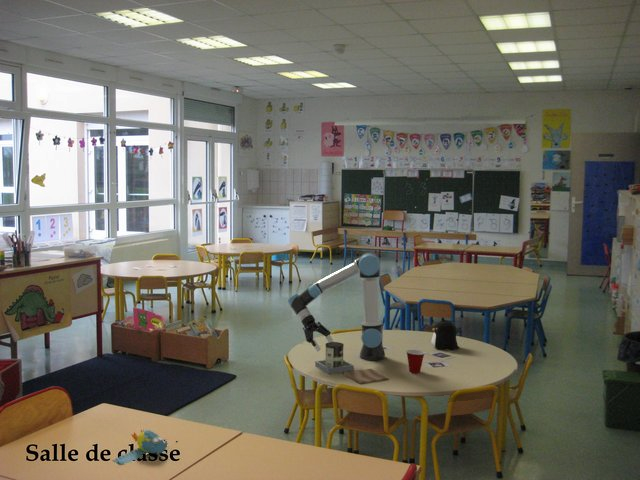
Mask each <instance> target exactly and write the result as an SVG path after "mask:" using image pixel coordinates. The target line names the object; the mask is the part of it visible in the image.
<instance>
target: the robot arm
mask: <svg viewBox="0 0 640 480" xmlns="http://www.w3.org/2000/svg"><path fill="white" fill-rule="evenodd" d="M380 264H381V260H380V257H379V255H378V254H377V253H375V252H373V251H367V252H364V253H363V254H362V255H360V256H359V257H358V258H356V259H354V262H352V263H350V264H348V265H346V266H344V267H342V268H340V269H339V270H336V271H334V272H333V273H331V274H328V275H327V276H325V277H323V278H322V279H320V280H318V281H316V282H314V283H311V284H309V285H308V287H306V289H305V290H304V291H303V292H301V293H300V294H298V293H294V294H293V295H291V296H290V297H289V298H288V299H287V302H288V304H289V306H290V308H291V309H292V310H293V312H294V313H295V315H296V316H297V318H298V319H299V321H300V322H301V324H302V325H303V327H302V330H303V332H304V336H305V340H306V342H307V343H309V344H311V345H312V347H314V349H315V351H316V352H319V351H320V350H322V348H321V347H320V345H319V344H318V342H317V341H316V339H314V333H315V332H318V333H319V334H321V335H322V336H323V337H325V339H326V340H327V343H329V342H335V341H334V340H333V338H332V336H331V331H330V330H329V329H327V327H326V326H325V325H323V323H321V322H320V321H318V322H316V319H315V317H314V315H313V314H312V312H311V310H310V309H309V308H308V306H309V304H311V303H312V302H313V301H314V300H316V299H317V298H318V297H319V296H321V294H323V293H324V292H327V291H329V290H331V289H333V288H335V287H336V286H339V285H341V284H342V283H344V282H346V281H348V280H351V279H352V278H353V277H355V276H358V275H359V278H360V279H361V280H362V296H363V297H362V298H363V299H362V301H363V321H362V322H361V341H362V347H361V349H360V352H359V358H361V359H362V360H367V361H381V360H385V358H386V353H385V349H384V346H383V339H384V338H383V337H384V336H383V335H384V334H383V333H384V332H383V331H384V322H383V320H381V319H380V318H379V317H380V316H379V315H380V314H379V313H380V312H379V289H378V286H379V285H378V284H379V283H378V281H379V278H380V277H381V271H380V270H381V268H380V267H381V266H380Z"/></svg>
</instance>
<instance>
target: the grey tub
mask: <svg viewBox="0 0 640 480" xmlns="http://www.w3.org/2000/svg"><path fill="white" fill-rule="evenodd" d="M314 362H315V364H314V367H316V368H317V369H319V370H320V371H322V372H324V373H326V374H327V375H333V374H339V373H345V372H352V371H355V369H354V366H355V365H354V364H352V363H350V362H349V361H346V360H345V359H343V366H341V367H334V368H328V367H326V359H322V360H316V361H314Z"/></svg>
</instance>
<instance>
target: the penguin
mask: <svg viewBox="0 0 640 480" xmlns="http://www.w3.org/2000/svg"><path fill="white" fill-rule="evenodd" d="M452 322H453V321H451V320H445V319H444V320H443V319H442V320H441V321H439V322H437V323H435V325H434V326H433V328H432V329H431V330H432V331H433V334H432V338H431V341H430V342H431V345H432V346H433V347H434V348H435V347H436V349H437V348H439V349H438V350H445V349H451V350H455V349H459V348H460V346H459V345H458V341H457V332H458V331H457V327H456V325H454V323H452ZM454 348H455V349H454Z"/></svg>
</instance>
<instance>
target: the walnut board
mask: <svg viewBox="0 0 640 480" xmlns="http://www.w3.org/2000/svg"><path fill="white" fill-rule="evenodd" d="M342 375H343V376H345V377H346V378H349V379H350V380H352V381H354V382H355V383H357V384H358V385H364V384H371V383H377V382H382V381H389V379H390V378H389V377H388V376H386V375H384V374H382V373H380V372H379V371H376V370H375V369H373V368H367V369H360V370H353V371H347V372H342Z"/></svg>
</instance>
